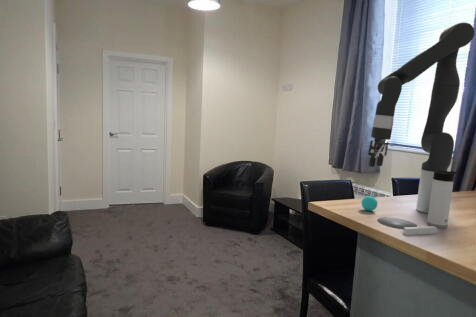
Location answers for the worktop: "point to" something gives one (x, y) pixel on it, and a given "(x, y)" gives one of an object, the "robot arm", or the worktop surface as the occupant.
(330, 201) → the worktop surface
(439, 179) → the travel mug
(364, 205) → the ball
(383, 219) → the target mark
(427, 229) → the wall
